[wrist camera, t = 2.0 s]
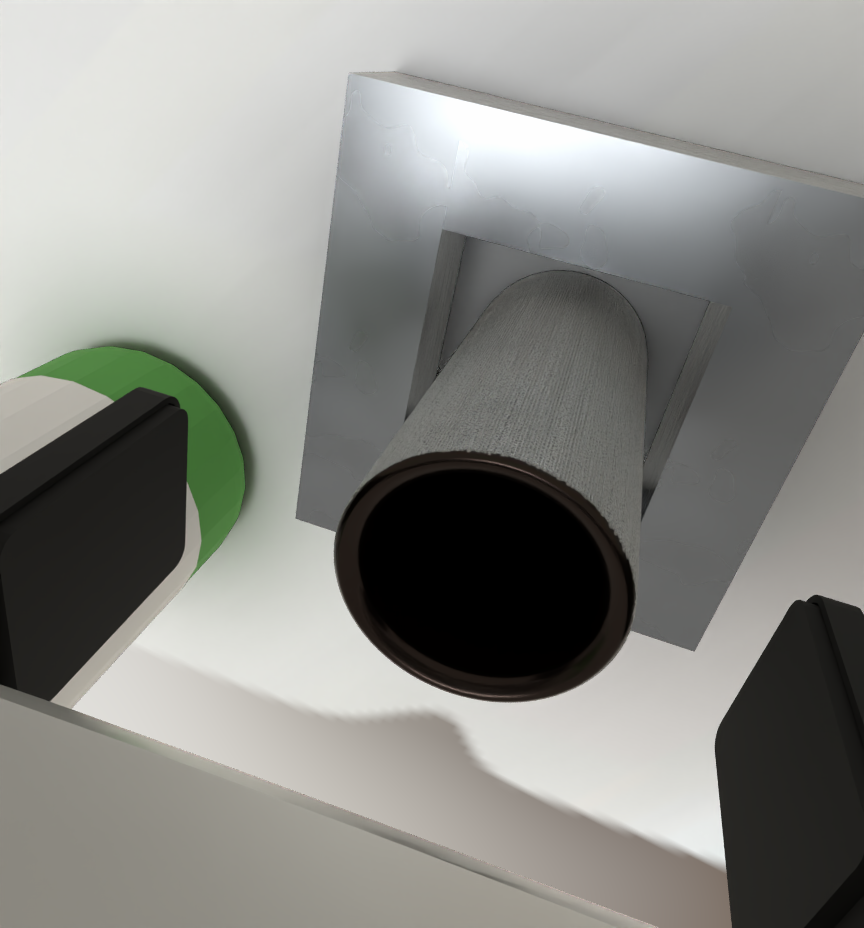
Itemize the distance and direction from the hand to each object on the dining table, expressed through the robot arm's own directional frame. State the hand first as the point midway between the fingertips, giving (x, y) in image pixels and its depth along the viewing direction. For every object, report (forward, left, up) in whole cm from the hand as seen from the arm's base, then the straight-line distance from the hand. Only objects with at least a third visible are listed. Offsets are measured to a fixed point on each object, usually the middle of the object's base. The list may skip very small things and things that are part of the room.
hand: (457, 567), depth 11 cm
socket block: (0, 0, -10) cm, 10 cm away
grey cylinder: (0, 0, -10) cm, 10 cm away
